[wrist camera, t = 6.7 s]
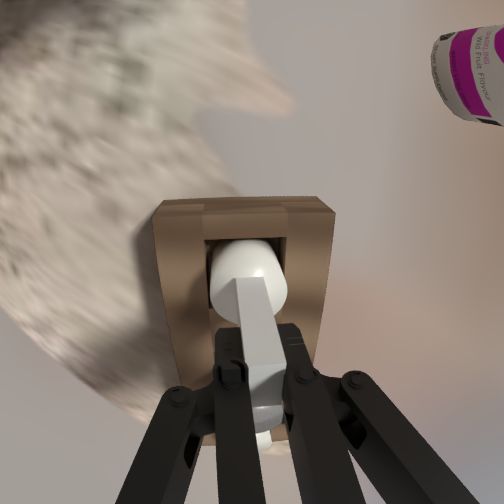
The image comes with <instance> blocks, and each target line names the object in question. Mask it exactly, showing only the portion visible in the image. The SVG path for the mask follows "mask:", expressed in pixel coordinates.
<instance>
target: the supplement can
mask: <svg viewBox="0 0 504 504" xmlns="http://www.w3.org/2000/svg"><path fill="white" fill-rule="evenodd" d="M431 66H432V75H433V79H434V82H435V85H436V88H437V90H438V92H439V94H440V96H441V97H442V99H443V101H444V103H445V104H446V105H447V107H448V108H449V109H450V110H451V111H452V112H453V113H454V114H455V115H457V116H458V117H460V118H462V119H464V120H469V121H475V122H482V123H488V124H493V125H499V126H504V25H494V26H487V27H480V28H475V29H469V30H463V31H458V32H453V33H449V34H445V35H442V36H440V37H439V38H438V40H437V41H436V42H435V43H434V46H433V50H432V54H431Z"/></svg>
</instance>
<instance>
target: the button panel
mask: <svg viewBox="0 0 504 504" xmlns="http://www.w3.org/2000/svg"><path fill="white" fill-rule="evenodd" d="M335 214H336V213H335V212H334V211H333V210H332V209H330V208H329V207H328V206H327V205H326V204H325V203H323V202H322V201H321V200H320V199H319V198H317V197H314V196H310V197H309V196H283V197H281V196H278V197H276V196H275V197H225V198H198V199H178V200H164V201H163V202H162V203H161V205H160V206H159V208H158V209H157V211H156V212H155V214H154V215H153V217H152V226H153V234H154V242H155V249H156V257H157V264H158V270H159V277H160V283H161V289H162V295H163V301H164V306H165V312H166V317H167V322H168V327H169V332H170V337H171V342H172V347H173V351H174V356H175V360H176V364H177V369H178V373H179V377H180V381H181V385H182V386H184V387H187V388H190V389H191V390H192V391H194V390H198V389H201V388H204V387H206V386H207V385H209V384H210V383H211V382H212V381H213V372H212V369H213V366H214V364H215V334H216V332H217V331H218V329H219V328H229V327H238V324H236V323H233V322H230V321H228V320H226V319H224V318H223V317H221V316H220V315H219V314H218V313H217V312H216V310H215V309H214V307H213V305H212V303H211V299H210V281H211V259H212V252H213V249H214V247H215V245H216V244H217V242H218V241H219V240H220V239H237V238H266V239H267V240H268V241H269V242H270V244H271V245H272V247H273V250H274V252H275V255H276V257H277V260H278V263H279V265H280V268H281V270H282V273H283V275H284V278H285V280H286V284H287V297H286V300H285V303H284V305H283V306H282V308H281V309H280V310H279V311H278V312H277V313H276V314H275V315H274V318H275V322H276V324H284V323H294V324H295V325H296V326H297V327H298V328H299V329H300V331H301V334H302V338H303V340H304V343H305V345H306V348H307V351H308V354H309V356H310V359H311V362H312V365H313V361H314V356H315V351H316V346H317V340H318V335H319V330H320V324H321V317H322V312H323V306H324V300H325V293H326V286H327V280H328V273H329V265H330V257H331V250H332V241H333V233H334V224H335ZM281 404H282V408H283V410H284V405H283V401H282V403H281ZM270 435H271V441H272V442H274V441H283V440H288V435H287V431H286V426H285V423H284V424H282V422H281V423H280V424H279V425H278V426H276V427H275V428H273V429H271V430H270ZM211 445H216V438H215V433H212V434H209V435H205V436H204V438H203V442H202V445H201V446H211Z"/></svg>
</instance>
